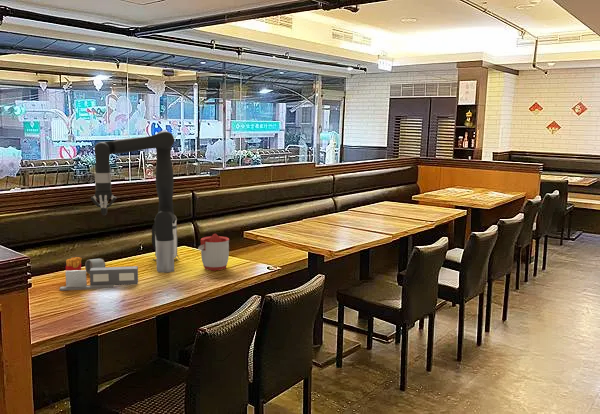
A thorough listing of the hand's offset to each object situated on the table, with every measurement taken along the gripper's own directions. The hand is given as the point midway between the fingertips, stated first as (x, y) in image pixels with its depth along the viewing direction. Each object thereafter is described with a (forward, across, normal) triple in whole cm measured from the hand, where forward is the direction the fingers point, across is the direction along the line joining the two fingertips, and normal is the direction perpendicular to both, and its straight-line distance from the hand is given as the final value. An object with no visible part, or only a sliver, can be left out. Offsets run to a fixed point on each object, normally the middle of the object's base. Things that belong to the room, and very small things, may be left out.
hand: (104, 215), depth 276 cm
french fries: (+32, +14, +9) cm, 36 cm away
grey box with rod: (+32, 0, +19) cm, 37 cm away
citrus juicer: (+32, -56, -5) cm, 65 cm away
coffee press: (+32, -29, -30) cm, 53 cm away
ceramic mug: (+32, +7, -8) cm, 34 cm away
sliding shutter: (+31, +11, +23) cm, 40 cm away
